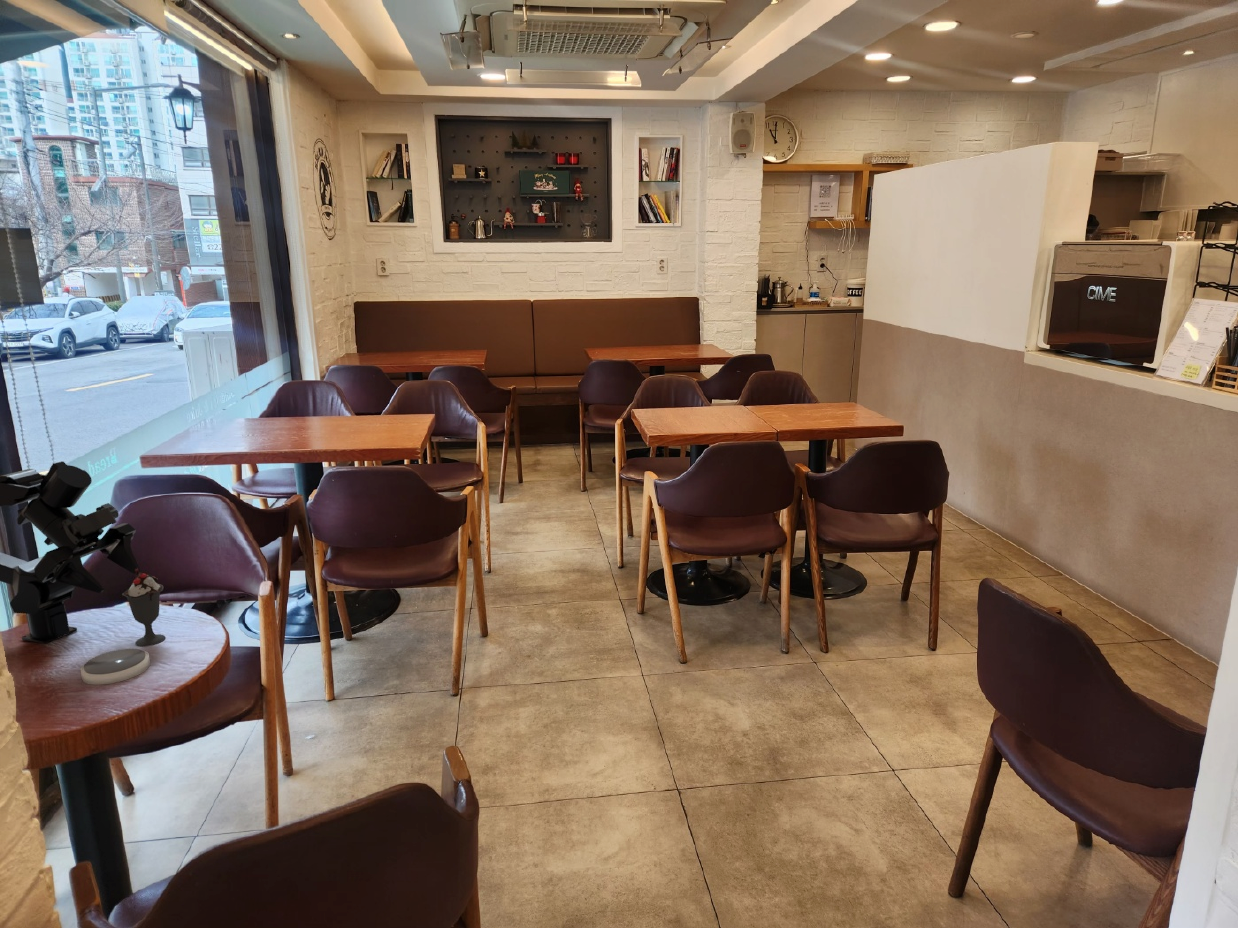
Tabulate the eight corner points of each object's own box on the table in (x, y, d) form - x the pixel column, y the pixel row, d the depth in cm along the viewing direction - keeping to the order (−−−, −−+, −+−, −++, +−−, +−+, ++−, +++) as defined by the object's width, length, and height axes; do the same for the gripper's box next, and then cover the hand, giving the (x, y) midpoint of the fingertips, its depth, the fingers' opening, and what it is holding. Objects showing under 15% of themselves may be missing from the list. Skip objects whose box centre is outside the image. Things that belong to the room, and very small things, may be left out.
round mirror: (67, 679, 132) (65, 668, 132) (121, 654, 142) (119, 644, 141) (111, 688, 129) (109, 677, 129) (163, 661, 139) (161, 651, 138)
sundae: (139, 651, 143) (127, 573, 140) (123, 642, 147) (111, 566, 144) (177, 638, 148) (166, 563, 145) (161, 630, 152) (150, 556, 149)
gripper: (37, 508, 134) (105, 571, 134) (119, 482, 152) (179, 538, 152) (5, 550, 136) (71, 612, 137) (89, 520, 154) (148, 575, 155)
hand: (121, 582), depth 145 cm, fingers open, 9 cm apart
